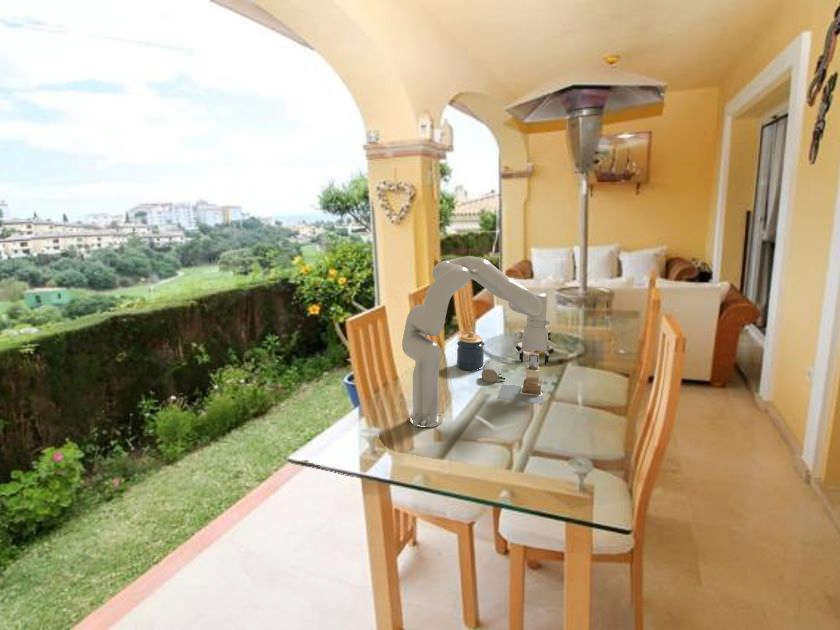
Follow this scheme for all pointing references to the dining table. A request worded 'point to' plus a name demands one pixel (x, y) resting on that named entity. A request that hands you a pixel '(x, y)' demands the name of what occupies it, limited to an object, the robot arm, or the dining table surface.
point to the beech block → (532, 376)
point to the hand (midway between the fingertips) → (533, 362)
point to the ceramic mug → (491, 372)
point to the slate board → (519, 394)
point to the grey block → (533, 361)
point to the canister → (470, 352)
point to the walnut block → (532, 387)
